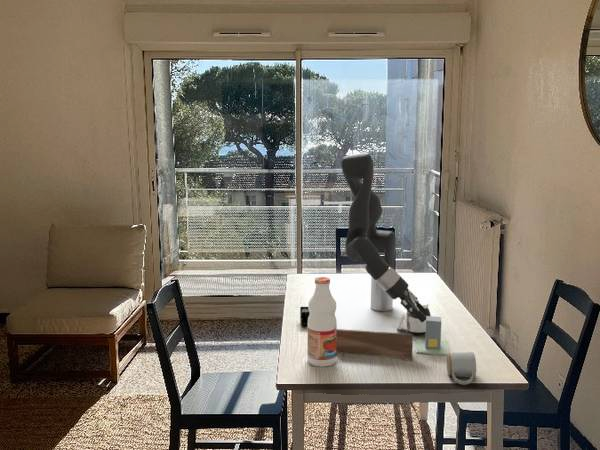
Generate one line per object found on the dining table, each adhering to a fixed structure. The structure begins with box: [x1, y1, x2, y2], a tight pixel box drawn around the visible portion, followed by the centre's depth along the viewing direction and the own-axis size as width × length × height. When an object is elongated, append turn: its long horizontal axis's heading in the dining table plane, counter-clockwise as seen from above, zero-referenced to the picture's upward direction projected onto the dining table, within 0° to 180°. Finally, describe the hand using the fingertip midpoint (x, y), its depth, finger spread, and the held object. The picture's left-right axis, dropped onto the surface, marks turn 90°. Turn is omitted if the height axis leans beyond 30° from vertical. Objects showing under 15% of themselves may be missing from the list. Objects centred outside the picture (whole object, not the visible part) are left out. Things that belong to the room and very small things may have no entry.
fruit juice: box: [307, 276, 338, 367], centre depth 188 cm, size 9×9×28 cm
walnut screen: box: [336, 328, 414, 361], centre depth 195 cm, size 5×26×8 cm, turn 79°
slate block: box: [424, 315, 442, 349], centre depth 201 cm, size 5×5×10 cm
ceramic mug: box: [446, 351, 477, 386], centre depth 177 cm, size 11×8×8 cm
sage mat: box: [416, 338, 451, 356], centre depth 202 cm, size 12×11×1 cm
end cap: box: [299, 306, 310, 328], centre depth 225 cm, size 10×7×7 cm
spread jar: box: [396, 299, 432, 336], centre depth 216 cm, size 12×11×12 cm
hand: (424, 316), depth 201 cm, fingers open, 8 cm apart
